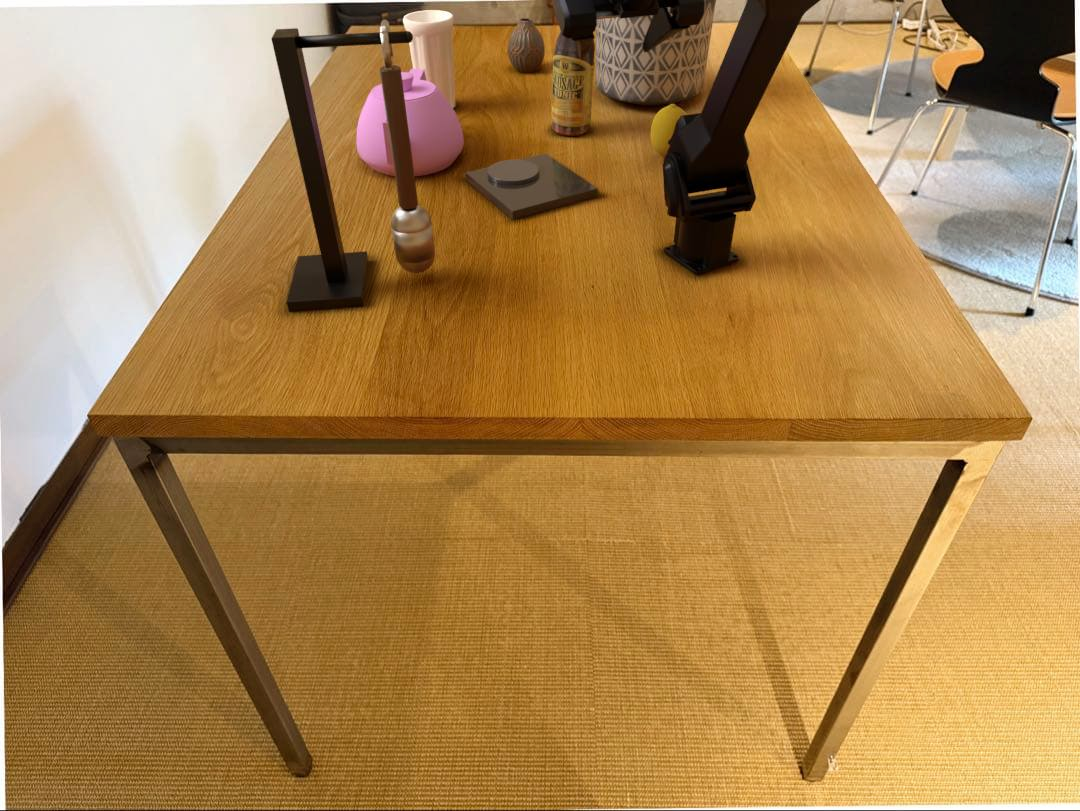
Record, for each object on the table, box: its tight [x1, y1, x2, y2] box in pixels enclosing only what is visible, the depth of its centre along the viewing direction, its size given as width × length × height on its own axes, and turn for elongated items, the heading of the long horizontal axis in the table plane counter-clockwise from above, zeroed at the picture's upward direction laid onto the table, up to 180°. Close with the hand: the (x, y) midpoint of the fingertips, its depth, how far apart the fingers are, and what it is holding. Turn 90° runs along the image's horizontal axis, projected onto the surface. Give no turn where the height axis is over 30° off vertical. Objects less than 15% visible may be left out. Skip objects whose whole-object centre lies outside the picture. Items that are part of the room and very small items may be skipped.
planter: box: [595, 0, 717, 106], centre depth 127 cm, size 19×19×16 cm
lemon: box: [650, 103, 688, 158], centre depth 109 cm, size 6×6×8 cm
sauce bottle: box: [550, 30, 596, 137], centre depth 114 cm, size 7×6×20 cm
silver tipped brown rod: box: [379, 19, 436, 274], centre depth 78 cm, size 4×4×26 cm
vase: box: [507, 17, 546, 74], centre depth 141 cm, size 7×7×9 cm
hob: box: [464, 152, 599, 220], centre depth 104 cm, size 14×13×2 cm
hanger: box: [271, 27, 413, 312], centre depth 78 cm, size 16×10×26 cm, turn 97°
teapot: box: [355, 68, 465, 177], centre depth 109 cm, size 22×16×12 cm
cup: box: [402, 9, 456, 109], centre depth 124 cm, size 8×8×14 cm
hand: (612, 53), depth 101 cm, fingers open, 9 cm apart
